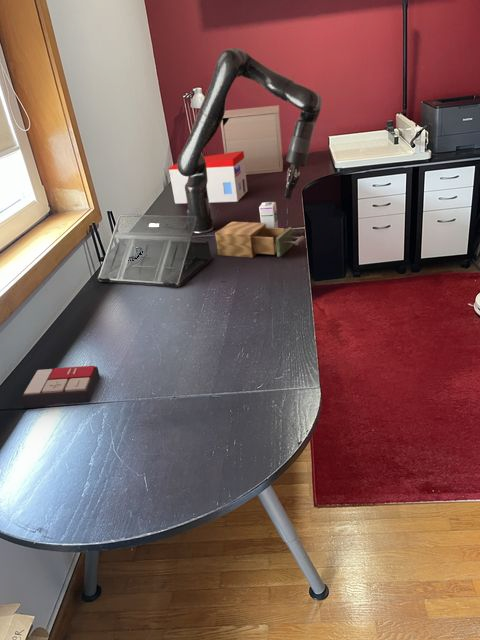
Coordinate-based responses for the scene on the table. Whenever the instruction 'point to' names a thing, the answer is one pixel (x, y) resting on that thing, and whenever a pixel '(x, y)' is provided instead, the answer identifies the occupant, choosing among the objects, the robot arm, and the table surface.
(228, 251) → the cabinet
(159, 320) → the table surface
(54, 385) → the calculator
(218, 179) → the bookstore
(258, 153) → the cabinet
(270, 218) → the syrup box
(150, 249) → the laptop stand
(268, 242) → the drawer
